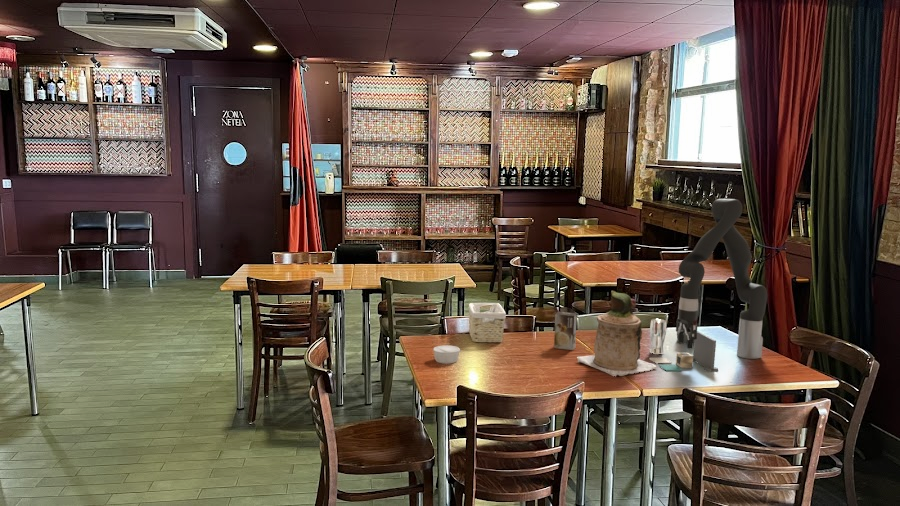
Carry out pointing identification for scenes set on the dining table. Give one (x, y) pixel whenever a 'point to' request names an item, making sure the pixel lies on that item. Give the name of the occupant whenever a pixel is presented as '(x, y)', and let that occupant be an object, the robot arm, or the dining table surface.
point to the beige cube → (684, 359)
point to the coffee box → (565, 330)
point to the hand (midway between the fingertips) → (685, 345)
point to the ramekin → (446, 354)
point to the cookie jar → (618, 340)
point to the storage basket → (486, 322)
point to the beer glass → (657, 335)
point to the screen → (705, 351)
